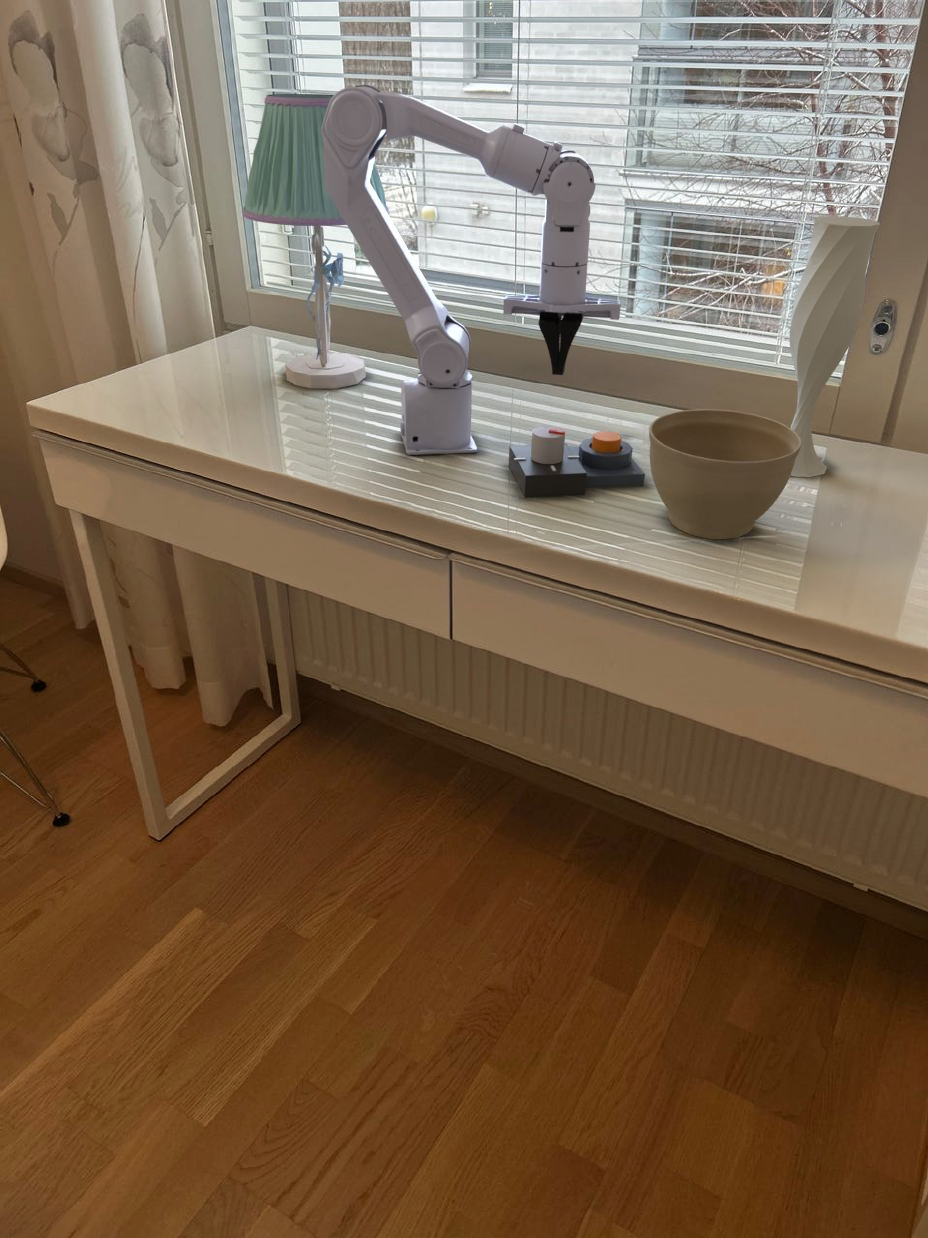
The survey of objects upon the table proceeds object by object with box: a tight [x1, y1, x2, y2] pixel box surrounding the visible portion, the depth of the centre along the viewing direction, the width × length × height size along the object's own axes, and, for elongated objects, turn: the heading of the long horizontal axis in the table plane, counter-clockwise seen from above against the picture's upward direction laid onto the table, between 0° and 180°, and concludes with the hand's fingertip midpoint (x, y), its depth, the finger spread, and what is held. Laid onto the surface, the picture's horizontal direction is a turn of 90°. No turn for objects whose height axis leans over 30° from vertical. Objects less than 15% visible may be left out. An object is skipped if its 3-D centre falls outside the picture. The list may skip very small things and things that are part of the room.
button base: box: [569, 437, 646, 489], centre depth 119 cm, size 10×8×4 cm
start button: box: [591, 430, 622, 453], centre depth 118 cm, size 4×4×2 cm
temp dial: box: [531, 426, 566, 464], centre depth 115 cm, size 4×4×4 cm
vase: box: [789, 215, 881, 478], centre depth 116 cm, size 9×8×30 cm
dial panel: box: [507, 442, 587, 499], centre depth 117 cm, size 10×8×3 cm
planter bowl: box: [648, 408, 801, 540], centre depth 105 cm, size 16×16×11 cm
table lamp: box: [242, 93, 390, 390], centre depth 142 cm, size 22×22×40 cm
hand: (558, 372), depth 122 cm, fingers closed
